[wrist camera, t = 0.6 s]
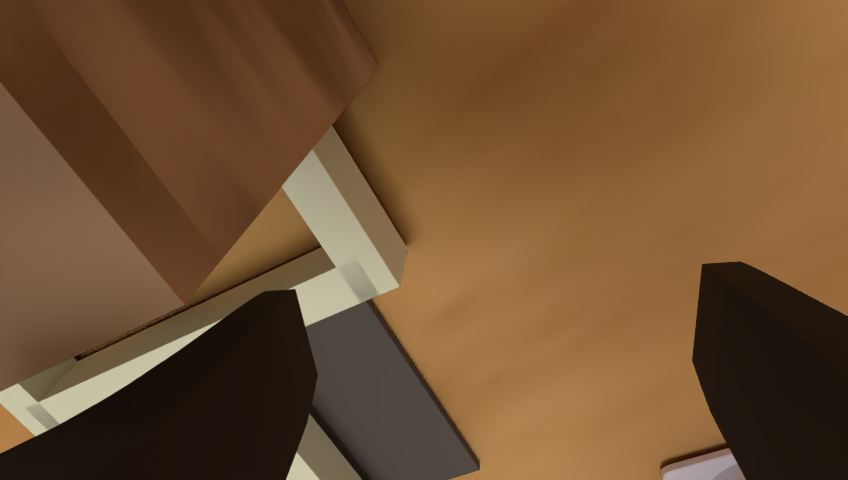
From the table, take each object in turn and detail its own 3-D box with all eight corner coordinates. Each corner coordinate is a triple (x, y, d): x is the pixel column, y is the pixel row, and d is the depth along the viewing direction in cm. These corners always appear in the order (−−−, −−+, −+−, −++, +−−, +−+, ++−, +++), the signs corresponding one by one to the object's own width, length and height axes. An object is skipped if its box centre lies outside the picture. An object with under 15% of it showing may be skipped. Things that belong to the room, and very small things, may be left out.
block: (563, 503, 26) (577, 596, 22) (264, 585, 31) (235, 672, 27) (158, -159, 16) (57, -192, 12) (-197, 121, 20) (-347, 161, 17)
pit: (479, 462, 26) (479, 470, 25) (266, 528, 29) (263, 535, 29) (365, 291, 22) (363, 297, 22) (136, 390, 25) (132, 396, 25)
